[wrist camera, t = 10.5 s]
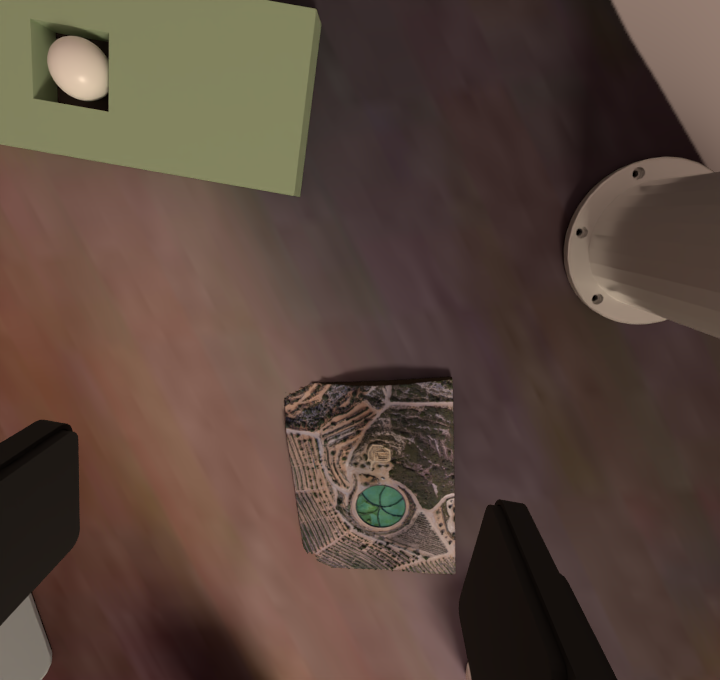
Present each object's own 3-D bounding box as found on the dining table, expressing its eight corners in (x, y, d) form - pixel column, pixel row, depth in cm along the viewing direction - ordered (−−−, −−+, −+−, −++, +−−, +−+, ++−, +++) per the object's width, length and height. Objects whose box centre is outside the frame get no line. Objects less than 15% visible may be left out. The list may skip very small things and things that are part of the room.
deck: (321, 24, 32) (316, 8, 29) (299, 196, 35) (294, 195, 33) (13, -30, 32) (-17, -50, 29) (21, 148, 35) (-5, 143, 33)
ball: (96, 49, 34) (124, 48, 32) (96, 107, 35) (124, 109, 33) (35, 27, 30) (63, 23, 28) (37, 91, 31) (64, 92, 29)
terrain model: (284, 380, 40) (276, 394, 37) (450, 373, 40) (456, 386, 36) (306, 562, 46) (301, 587, 43) (452, 559, 45) (457, 584, 42)
